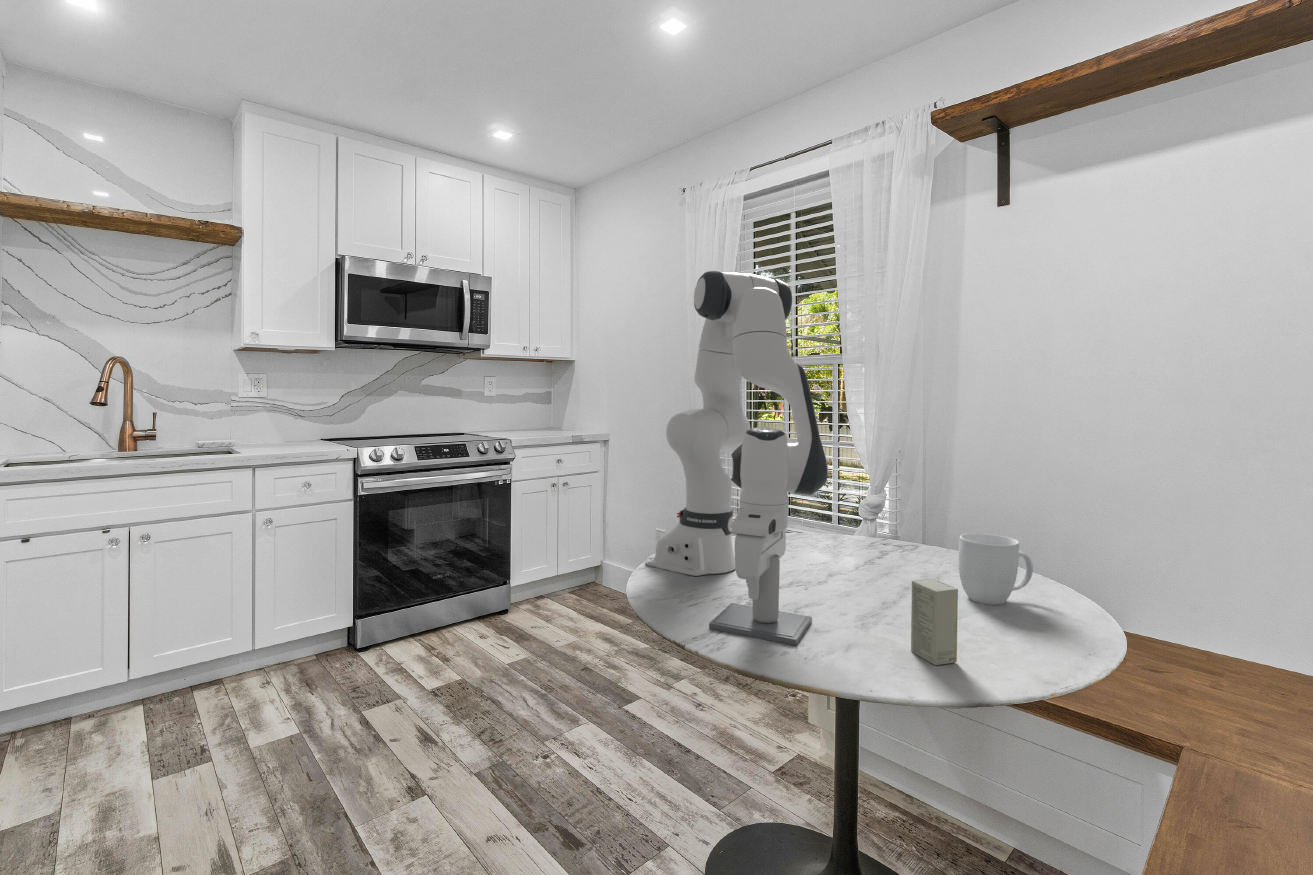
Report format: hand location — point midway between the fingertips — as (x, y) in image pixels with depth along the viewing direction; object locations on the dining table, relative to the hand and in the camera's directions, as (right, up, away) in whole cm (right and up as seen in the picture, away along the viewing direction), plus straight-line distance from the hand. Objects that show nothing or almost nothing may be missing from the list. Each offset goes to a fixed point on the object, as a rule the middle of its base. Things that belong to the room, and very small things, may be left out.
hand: (762, 590), depth 113 cm
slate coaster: (0, -7, +1) cm, 7 cm away
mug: (+51, -6, +15) cm, 54 cm away
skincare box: (+26, -8, -12) cm, 30 cm away
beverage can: (+1, -6, 0) cm, 6 cm away
